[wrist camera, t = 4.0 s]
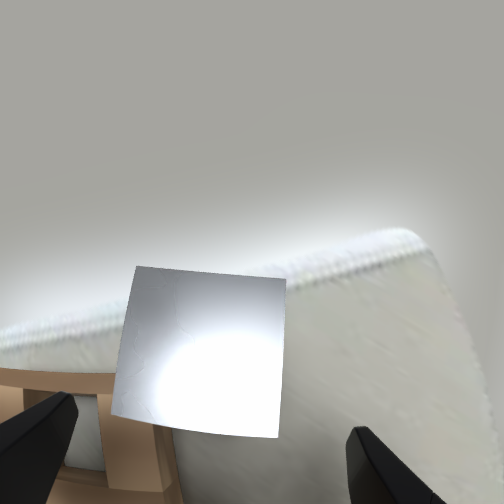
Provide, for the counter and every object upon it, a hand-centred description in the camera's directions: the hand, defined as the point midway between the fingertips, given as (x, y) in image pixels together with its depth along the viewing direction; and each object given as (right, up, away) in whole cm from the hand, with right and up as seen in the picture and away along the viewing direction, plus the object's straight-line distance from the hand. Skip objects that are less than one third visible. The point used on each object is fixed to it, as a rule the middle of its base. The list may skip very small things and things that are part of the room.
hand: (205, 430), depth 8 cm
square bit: (0, -3, +9) cm, 10 cm away
